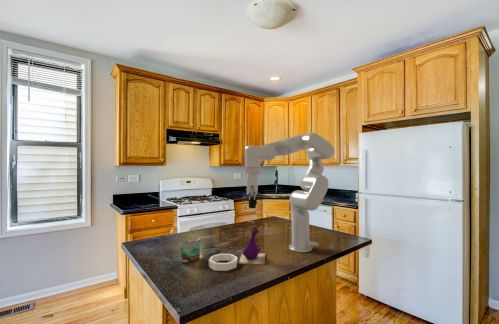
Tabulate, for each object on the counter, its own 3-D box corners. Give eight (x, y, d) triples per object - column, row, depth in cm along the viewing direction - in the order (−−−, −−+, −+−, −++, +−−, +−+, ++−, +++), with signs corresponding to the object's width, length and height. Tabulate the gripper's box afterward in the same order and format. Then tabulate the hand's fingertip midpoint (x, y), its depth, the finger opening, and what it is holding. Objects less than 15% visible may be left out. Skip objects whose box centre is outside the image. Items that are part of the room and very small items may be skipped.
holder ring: (238, 260, 123) (238, 254, 123) (235, 271, 110) (235, 264, 111) (212, 259, 124) (212, 253, 124) (206, 270, 111) (206, 263, 111)
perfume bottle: (260, 255, 127) (260, 219, 127) (257, 261, 119) (257, 222, 119) (246, 254, 128) (246, 218, 128) (242, 260, 121) (242, 221, 121)
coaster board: (265, 255, 130) (265, 253, 130) (264, 264, 118) (264, 262, 118) (241, 254, 131) (241, 252, 131) (239, 263, 119) (239, 262, 119)
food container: (189, 266, 115) (189, 244, 115) (179, 263, 119) (179, 242, 119) (207, 258, 126) (207, 237, 126) (198, 255, 129) (198, 235, 129)
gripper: (246, 170, 133) (246, 203, 133) (243, 171, 116) (243, 209, 116) (260, 170, 133) (261, 203, 133) (259, 171, 116) (260, 209, 116)
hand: (253, 206), depth 124 cm, fingers open, 9 cm apart
